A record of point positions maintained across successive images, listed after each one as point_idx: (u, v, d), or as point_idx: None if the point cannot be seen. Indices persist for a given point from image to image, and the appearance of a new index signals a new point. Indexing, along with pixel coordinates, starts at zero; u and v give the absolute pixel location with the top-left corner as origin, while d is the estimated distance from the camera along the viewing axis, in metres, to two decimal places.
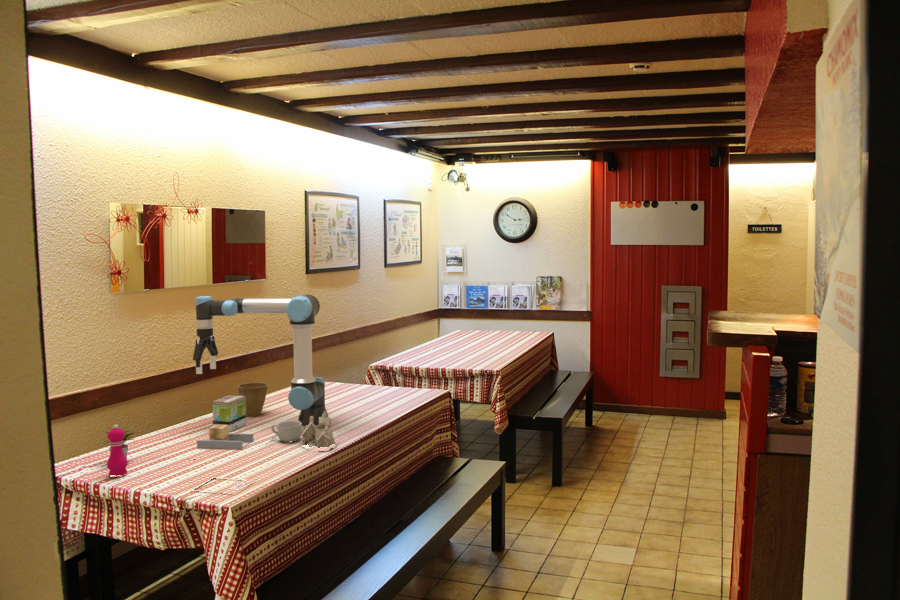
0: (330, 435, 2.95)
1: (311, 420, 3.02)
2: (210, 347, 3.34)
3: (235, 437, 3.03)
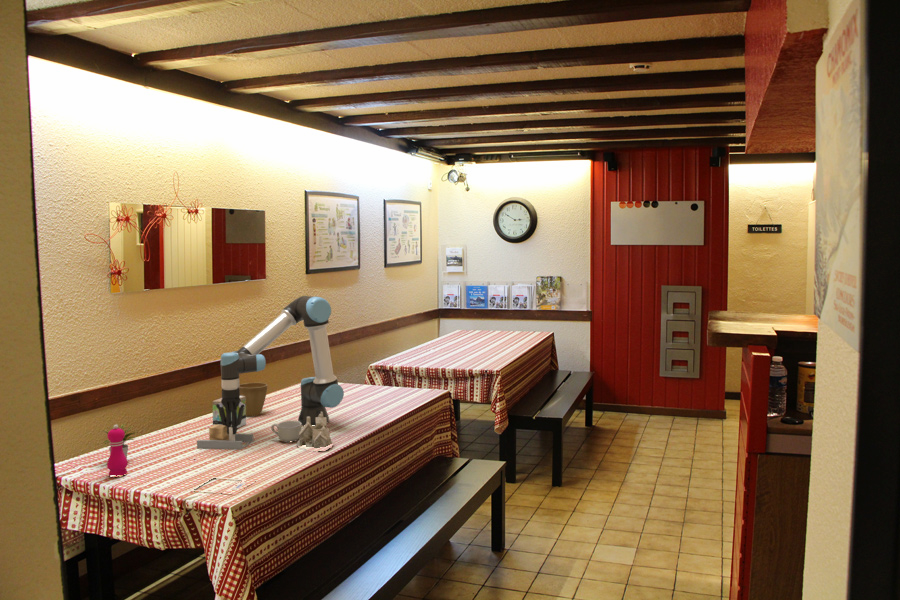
0: (327, 435, 2.95)
1: (308, 420, 3.01)
2: None
3: (235, 437, 3.03)
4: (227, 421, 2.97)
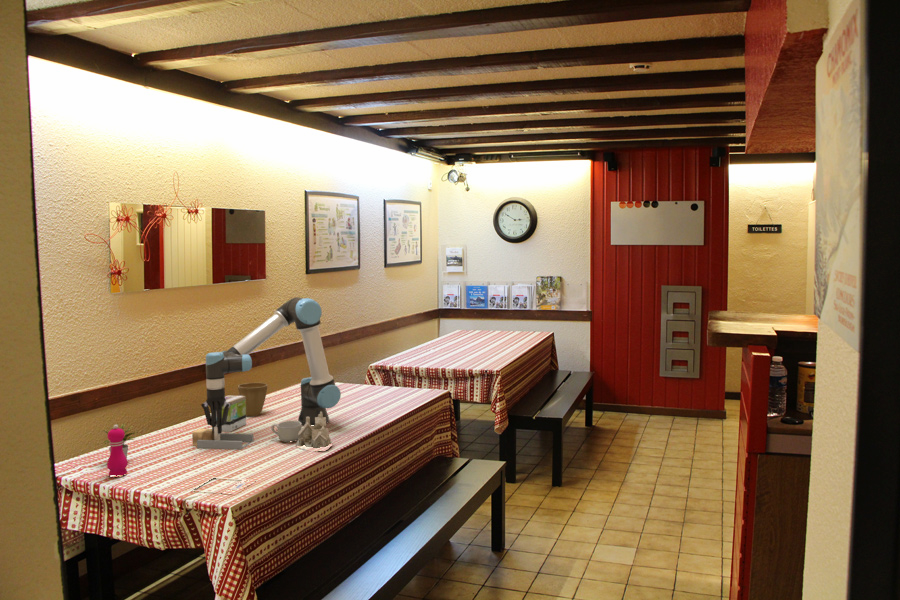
0: (327, 435, 2.95)
1: (307, 420, 3.01)
2: None
3: (235, 437, 3.03)
4: (212, 420, 2.97)
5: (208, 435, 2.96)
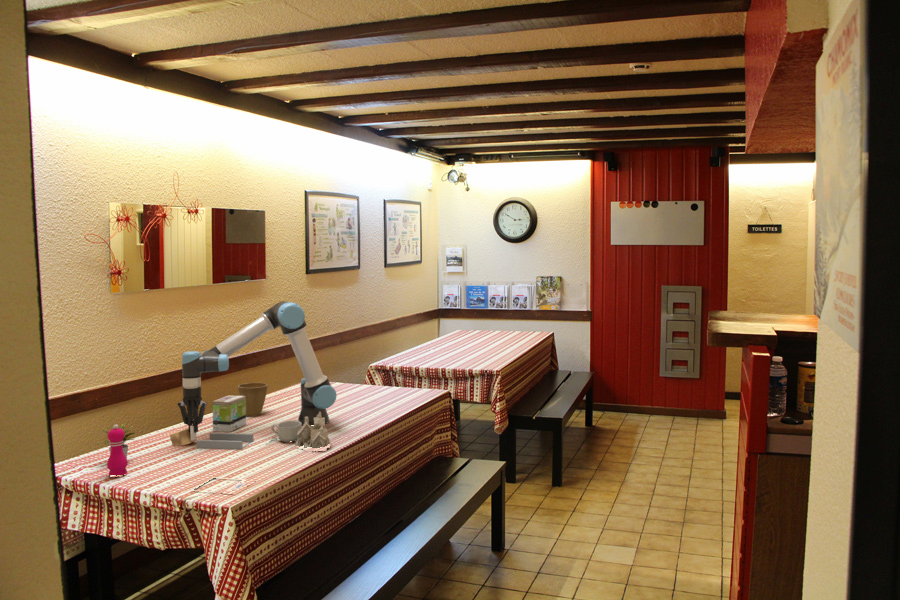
0: (326, 435, 2.95)
1: (306, 420, 3.01)
2: None
3: (235, 437, 3.03)
4: (188, 419, 2.98)
5: (184, 433, 2.97)
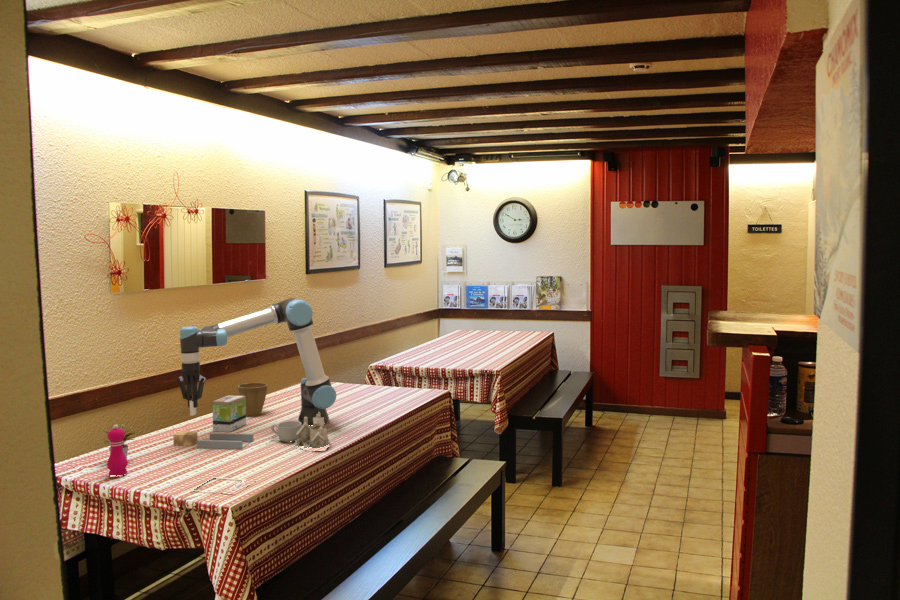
0: (325, 435, 2.94)
1: (305, 421, 3.01)
2: None
3: (235, 437, 3.03)
4: (188, 395, 2.98)
5: (189, 437, 2.98)
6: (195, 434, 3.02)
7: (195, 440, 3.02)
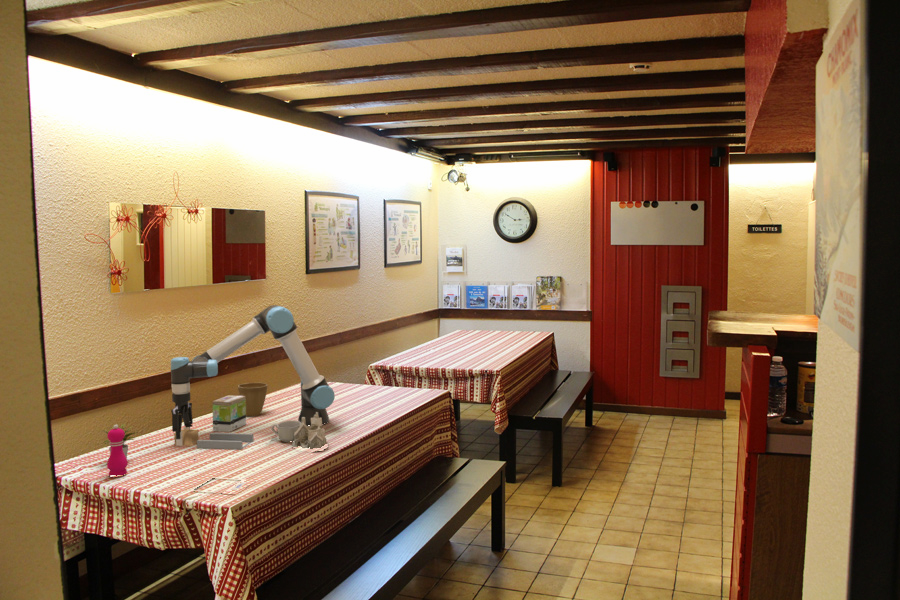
0: (323, 436, 2.94)
1: (303, 421, 3.00)
2: (186, 415, 3.02)
3: (235, 437, 3.03)
4: (180, 426, 2.97)
5: (190, 435, 2.98)
6: (196, 432, 3.02)
7: (196, 438, 3.02)
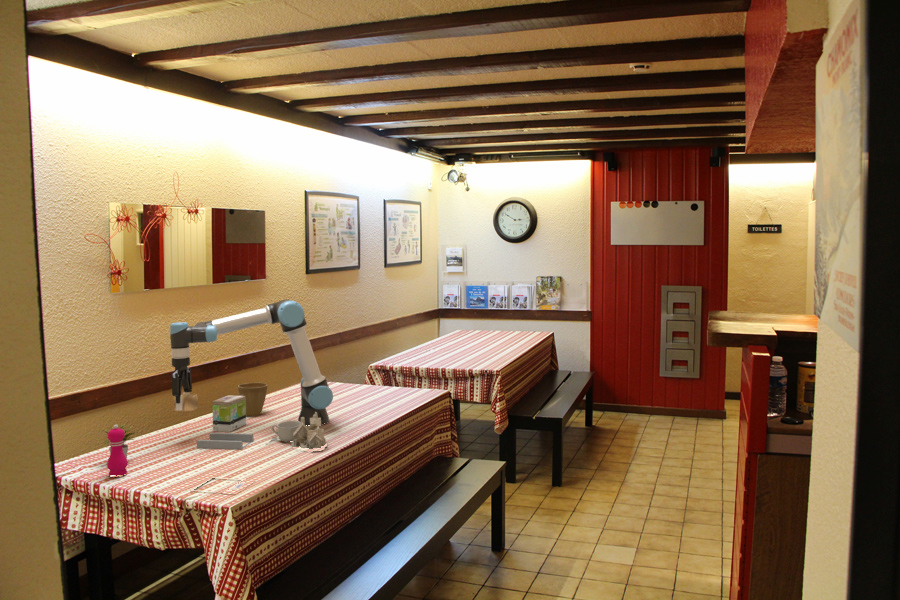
0: (322, 436, 2.94)
1: (302, 421, 3.00)
2: (185, 380, 3.04)
3: (235, 437, 3.03)
4: (180, 390, 2.99)
5: (189, 400, 2.99)
6: (195, 397, 3.04)
7: (196, 403, 3.04)
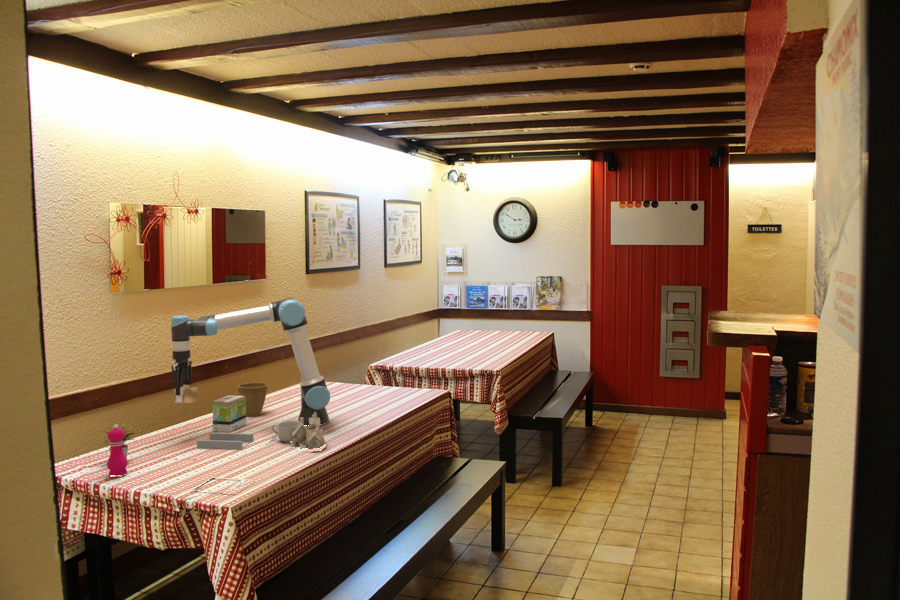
0: (321, 436, 2.94)
1: (301, 421, 3.00)
2: (185, 372, 3.08)
3: (235, 437, 3.03)
4: (180, 382, 3.03)
5: (189, 392, 3.03)
6: (195, 389, 3.08)
7: (195, 395, 3.08)
